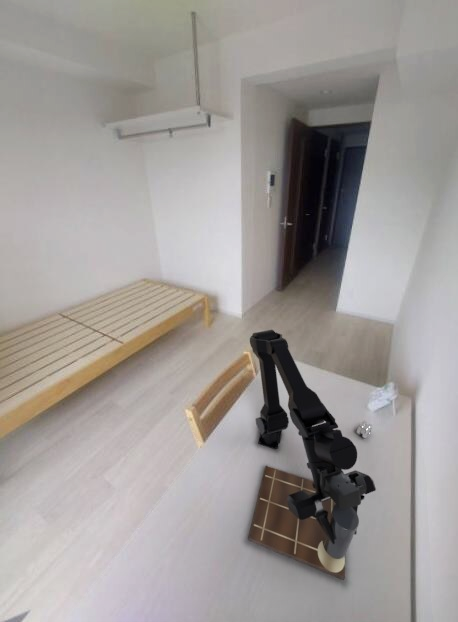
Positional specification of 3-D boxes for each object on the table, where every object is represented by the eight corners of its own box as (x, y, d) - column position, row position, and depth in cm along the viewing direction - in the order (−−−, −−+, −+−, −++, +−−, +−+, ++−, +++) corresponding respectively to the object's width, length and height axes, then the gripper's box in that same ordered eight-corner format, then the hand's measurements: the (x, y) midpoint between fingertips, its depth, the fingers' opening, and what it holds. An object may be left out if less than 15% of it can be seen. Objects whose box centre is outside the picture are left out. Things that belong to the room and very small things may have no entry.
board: (248, 540, 66) (248, 537, 66) (265, 468, 82) (265, 465, 81) (343, 580, 60) (345, 577, 59) (342, 493, 76) (343, 490, 75)
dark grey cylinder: (318, 547, 60) (328, 517, 54) (327, 526, 64) (337, 496, 57) (341, 565, 57) (354, 536, 51) (349, 542, 61) (362, 513, 55)
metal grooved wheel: (362, 427, 95) (365, 417, 92) (371, 433, 92) (374, 423, 90) (355, 435, 92) (358, 425, 89) (363, 441, 90) (367, 431, 87)
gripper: (300, 482, 50) (326, 582, 46) (380, 452, 55) (410, 541, 51) (277, 467, 61) (297, 547, 57) (347, 443, 65) (369, 516, 61)
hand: (343, 538), depth 56 cm, fingers closed on dark grey cylinder, 5 cm apart
